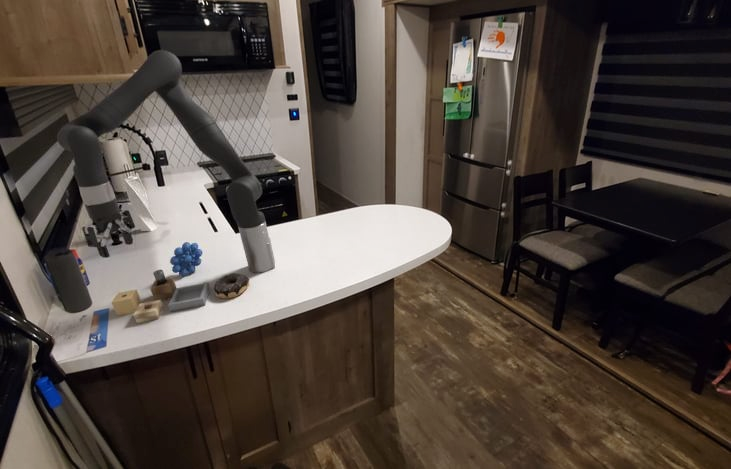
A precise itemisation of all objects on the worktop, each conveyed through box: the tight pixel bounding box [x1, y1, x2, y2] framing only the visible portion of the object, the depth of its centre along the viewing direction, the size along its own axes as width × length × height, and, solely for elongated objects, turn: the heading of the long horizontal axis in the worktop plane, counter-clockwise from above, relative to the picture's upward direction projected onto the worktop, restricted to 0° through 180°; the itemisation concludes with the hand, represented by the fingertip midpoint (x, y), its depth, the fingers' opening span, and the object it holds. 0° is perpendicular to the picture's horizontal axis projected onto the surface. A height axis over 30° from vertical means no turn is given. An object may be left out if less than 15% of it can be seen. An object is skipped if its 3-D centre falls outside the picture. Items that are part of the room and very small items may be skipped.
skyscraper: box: [123, 172, 159, 232], centre depth 175 cm, size 8×8×28 cm
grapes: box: [169, 241, 203, 277], centre depth 134 cm, size 12×7×12 cm, turn 136°
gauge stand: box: [133, 300, 164, 324], centre depth 113 cm, size 6×6×3 cm
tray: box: [168, 282, 211, 313], centre depth 119 cm, size 10×10×2 cm
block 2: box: [149, 276, 177, 302], centre depth 122 cm, size 6×6×5 cm
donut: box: [213, 272, 250, 299], centre depth 122 cm, size 11×12×4 cm
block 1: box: [111, 289, 143, 316], centre depth 117 cm, size 6×6×5 cm
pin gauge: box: [152, 269, 167, 285], centre depth 122 cm, size 3×3×9 cm
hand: (118, 250), depth 111 cm, fingers open, 8 cm apart
